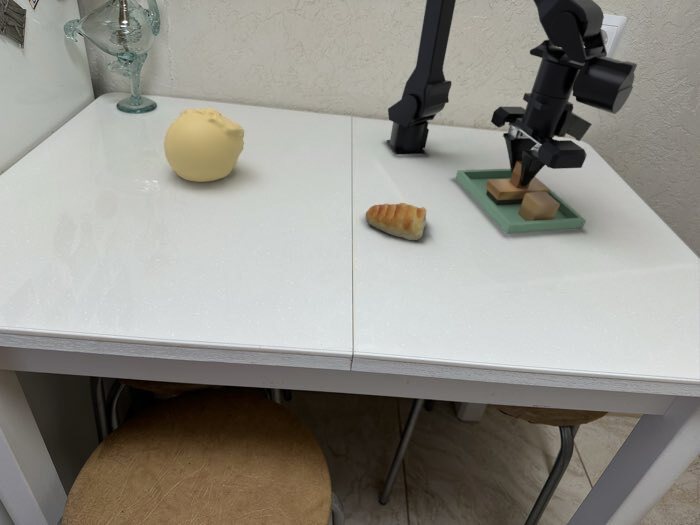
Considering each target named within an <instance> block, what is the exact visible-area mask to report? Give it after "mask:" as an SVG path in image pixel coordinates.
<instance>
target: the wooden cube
mask: <svg viewBox="0 0 700 525" xmlns="http://www.w3.org/2000/svg"><path fill="white" fill-rule="evenodd" d="M559 206H560V204H559V203H558V202H557V201H556V200H555V199H553V198H552V197H551V196H550V195H549V194H548V193H546V192H537V193H525V196H524V199H523V202H522V204H521V207H520V210H519V212H518V214H519V215H520V216H521V217H522V218H523V219H524V220H525V221H539V220H554V217H555V215H556V213H557V210H558V208H559Z"/></svg>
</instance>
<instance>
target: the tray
mask: <svg viewBox="0 0 700 525" xmlns="http://www.w3.org/2000/svg"><path fill="white" fill-rule="evenodd" d="M511 176H512V174H511V168H489V169H488V168H487V169H486V168H485V169H484V168H483V169H459V170H457V172H456V175H455V179H456V180H457V181H458V182H459V183H460V184H461V185H462V187H463V188H464V189H465V190H467V192H468V193H469V194H470V195H471V196H472V197H473V199H475V201H476V202H477V203H478V204H479V205H480V206H481V207H482V208H483V209H484V211H485V212H486V213H487V214H488V215H489V216H490V217H491V218H492V219H493V220H494V221H495V222H496V224H497V225H498V226H499V227H500V228H501V229H502V230H503V231H504V232H505V234H518V233H519V234H520V233H531V232H532V233H533V232H544V231H558V230H571V229H582V228H583V227H584V224H585V223H586V219H585V217H583V216H582V215H581V214H579V213H578V211H576V210H574V208H573V207H571V206H570V205H569V204H568V203H567V202H565V201H564V200H563V199H562V198H560V197H559V196H558V194H556V193H555V192H554V191H552V189H550V191H549V193H548V194H549V195H550V196H551V197H552V198H553V199H555V200H556V201H557V202H558V203H559V204H560V206H559V208H558V210H557V213H556V215H555V217H554V220H539V221H525V220H524V219H523V218H522V217H521V216H520V215H519V214H518V212H519V210H520V207H521V204H509V205H496V204H495V203H494V202H493V201H492V200H491V199H490V198H489V197H488V196H487V195H486V193H487V189H486V188H485V187H486V183H487V180H491V179H511ZM534 178H537V177H536V176H535V177H534ZM539 181H540V182H542V181H541V180H539ZM546 187H547V188H549V187H548V186H546Z"/></svg>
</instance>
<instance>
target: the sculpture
mask: <svg viewBox="0 0 700 525" xmlns="http://www.w3.org/2000/svg"><path fill="white" fill-rule="evenodd" d="M244 137H245V130H244V128H243V126H242V125H240V124H239V123H237V122H235V121H233V120H231V119H229V118H227V116H224V115H223V114H222V113H221V112H220V111H218V110H217V109H215V108H212V107H207V108H198V109H195V108H185V109H183V110H181V112H180V115H179V116H178V117H176V119H174V120H173V121H172V122H171V123H170V125H169V127H168V128H167V130H166V132H165V135H164V140H163V151H164V155H165V158H166V161H167V162H168V165H169V166H170V167H171V170H173V171H174V173H175V174H177V175H178V177H180V178H182V179H184V180H186V181H189V182H198V183H202V182H203V183H204V182H212V181H218V180H220V179H223V178H225V177H227V176H229V175H230V174H231V173H232V171H233V170H234V168H235V166H236V164H237V162H238V160H239V157H240V155H241V154H242V152H243V151H244V145H245V141H244Z"/></svg>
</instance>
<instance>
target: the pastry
mask: <svg viewBox="0 0 700 525" xmlns="http://www.w3.org/2000/svg"><path fill="white" fill-rule="evenodd" d="M365 218H366V221H367V222H368V223H369V225H370V226H372V227H373V228H375V229H377V230H380V231H382V232H384V233H386V234H388V235H391V236H394V237H398V238H403V239H405V240H407V241H408V240H409V241H418V240H419V241H420V239H421V238H422V236H423V234H424V228H425V227H426V225H427V209H426V208H425V207H424V206H422V207H418V206H414V205H412V204H408V203H405V202H399V203H392V204H390V203H383V204H374V205H372V206H370V207H369V209H367V211H366V212H365Z"/></svg>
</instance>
